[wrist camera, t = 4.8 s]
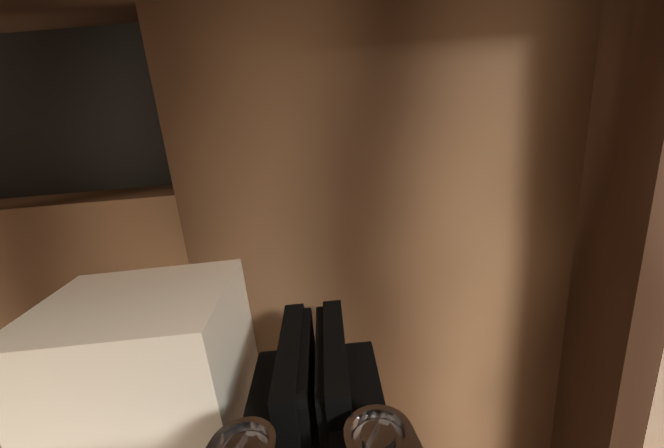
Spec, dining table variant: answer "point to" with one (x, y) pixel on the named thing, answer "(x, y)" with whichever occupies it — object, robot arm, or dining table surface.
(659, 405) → the dining table surface
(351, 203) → the trap box
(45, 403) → the block
